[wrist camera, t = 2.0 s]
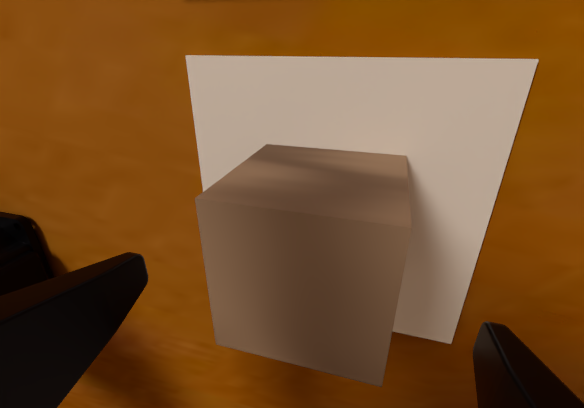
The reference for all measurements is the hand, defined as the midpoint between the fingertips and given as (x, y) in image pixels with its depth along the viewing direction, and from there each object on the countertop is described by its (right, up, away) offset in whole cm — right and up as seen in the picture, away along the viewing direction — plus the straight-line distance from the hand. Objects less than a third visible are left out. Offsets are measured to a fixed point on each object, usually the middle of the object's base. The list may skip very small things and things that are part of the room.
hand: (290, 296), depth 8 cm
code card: (+2, +2, +4) cm, 5 cm away
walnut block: (+1, +2, +4) cm, 5 cm away
